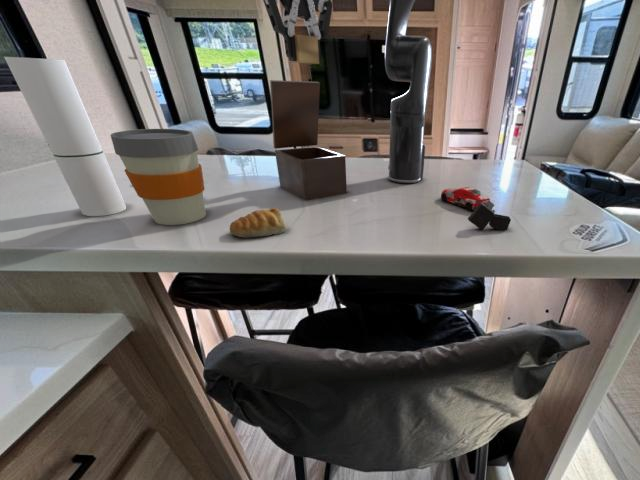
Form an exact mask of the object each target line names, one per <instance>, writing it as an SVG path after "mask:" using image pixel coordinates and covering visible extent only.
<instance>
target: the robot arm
mask: <svg viewBox="0 0 640 480" xmlns="http://www.w3.org/2000/svg"><path fill="white" fill-rule="evenodd" d="M262 2H263V4H264V6H265V7H264V8H265V9H266V13H267V15H268V19H269V21H270V24H271V27H272V30H273V31H274V32H275V33H278V34H280V35H281V36H282V37H283V42H284V43H283V44H284V50H285V55H286V57H287V58H288V61H289V62H290V61H297V56H296V47H295V38H293V35H295V28H296V27H295V26H296V23H297V20H298V18H300V19H302V20H303V23H304V25H305V27H306V29H307V32H308V36H314V37H317V40H318V53H319V60H321V57H322V55H321V53H322V51H321V39H323V38H326V37H328V36H329V32H330V25H331V19H332V12H333V2H332V1H331V0H262ZM279 2H280V4H281V5H282V7H283V11H282V16H281V13H280V9H279V7H278V3H279ZM415 2H416V0H389V9H388V10H389V11H388V20H387V28H386V37H385V48H384V67H385V68H384V69H385V72H386V75H387V78H388V79H389V80H391V81H393V82H403V83H404V82H405V83H410V84H409V89H408V90H407V91H406V92H405V93H404V94H402V95H400V96H397V97H395V98H392V99H391V100H390V114H389V115H390V117H389V154H388V155H389V156H388V157H389V159H388V180H389V181H391V182H394V183H398V184H416V183H419V182H420V181H421V180H423V179H424V168H425V155H426V144H425V143H424V136H425V135H424V134H425V121H426V109H427V102H428V98H429V86H430V79H431V71H432V64H433V63H432V61H433V47H432V43H431V41H430V39H429V38H428V37H427V36H425V35H407V30H408V29H407V28H408V22H409V17H410V15H411V14H410V13H411V11H412V8H413V6H414V3H415ZM317 7H318V9H317ZM316 9H317V10H318V12H319V16H317V13H316Z"/></svg>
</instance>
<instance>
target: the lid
mask: <svg viewBox="0 0 640 480" xmlns="http://www.w3.org/2000/svg"><path fill="white" fill-rule="evenodd" d="M269 84H270V85H269V87H270V102H271V103H270V104H271V105H270V106H271V122H272V124H271V125H272V137H273V138H272V140H273V141H272V144H273V148H274V150H278V149H290V148H301V147H313V146H318V141H319V140H318V139H319V115H320V114H319V113H320V89H321V87H320V86H321V82H319V81H309V80H308V81H305V80H279V79H278V80H275V79H270V80H269Z"/></svg>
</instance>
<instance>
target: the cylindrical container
mask: <svg viewBox="0 0 640 480" xmlns="http://www.w3.org/2000/svg"><path fill="white" fill-rule="evenodd" d="M3 58H4V60H5V62H6V64H7V66H8V68H9V70H10V72H11V74H12V76H13V78H14V80H15V82H16V84H17V86H18V88H19V90H20V92H21V94H22V96H23V98H24V100H25V102H26V104H27V107H28V108H29V110H30V112H31V114H32V116H33V118H34V120H35V122H36V124H37V126H38V128H39V130H40V132H41V134H42V136H43V138H44V140H45V142H46V144H47V146H48V148H49V150H50V152H51V155H52V156H53V158H54V160H55V163H56V164H57V166H58V168H59V170H60V172H61V174H62V176H63V178H64V180H65V182H66V183H67V186H68V188H69V190H70V193H71V194H72V196H73V197H74V198H73V199H74V200H75V202H76V204H77V206H78V208H79V210H80V212H81V214H82V215H83V216H87V217H103V216H110V215H114V214H115V215H116V214H118V213H121V212H123V211H125V210H127V205H126V203H125V200H124V198H123V196H122V193H121V191H120V189H119V186H118V183H117V181H116V179H115V177H114V174H113V172H112V170H111V166H110V164H109V162H108V160H107V158H106V155H105V153H104V150H103V148H102V145H101V143H100V140H99V139H98V136H97V134H96V131H95V129H94V127H93V124H92V122H91V120H90V119H91V118H90V117H89V115H88V112H87V110H86V108H85V105H84V102H83V99H81V95H80V93H79V90H78V88H77V86H76V83H75V80H74V79H73V76H72V74H71V71H70V70H69V67H68V64H67V62H66V60H65V59H57V58H56V59H55V58H36V57H15V56H4V57H3Z"/></svg>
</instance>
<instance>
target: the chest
mask: <svg viewBox="0 0 640 480" xmlns="http://www.w3.org/2000/svg"><path fill="white" fill-rule="evenodd" d="M274 154H275V161H276V168H277V175H278V182H279V187H280V188H282V189H284V190H286V191H288V192H289V193H291V194H293V195H295V196H297V197H299V198H301V199H302V200H304V201H309V200H313V199H319V198H324V197H325V198H326V197H330V196H336V195H342V194H346V193H348V192H347V191H348V189H347V188H348V187H347V185H348V184H347V165H346V163H347V162H346V155H345V154H341V153H339V152H335V151H332V150H329V149H327V148H323V147H321V146H318V145H314V146H303V147H292V148H280V149H274Z"/></svg>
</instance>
